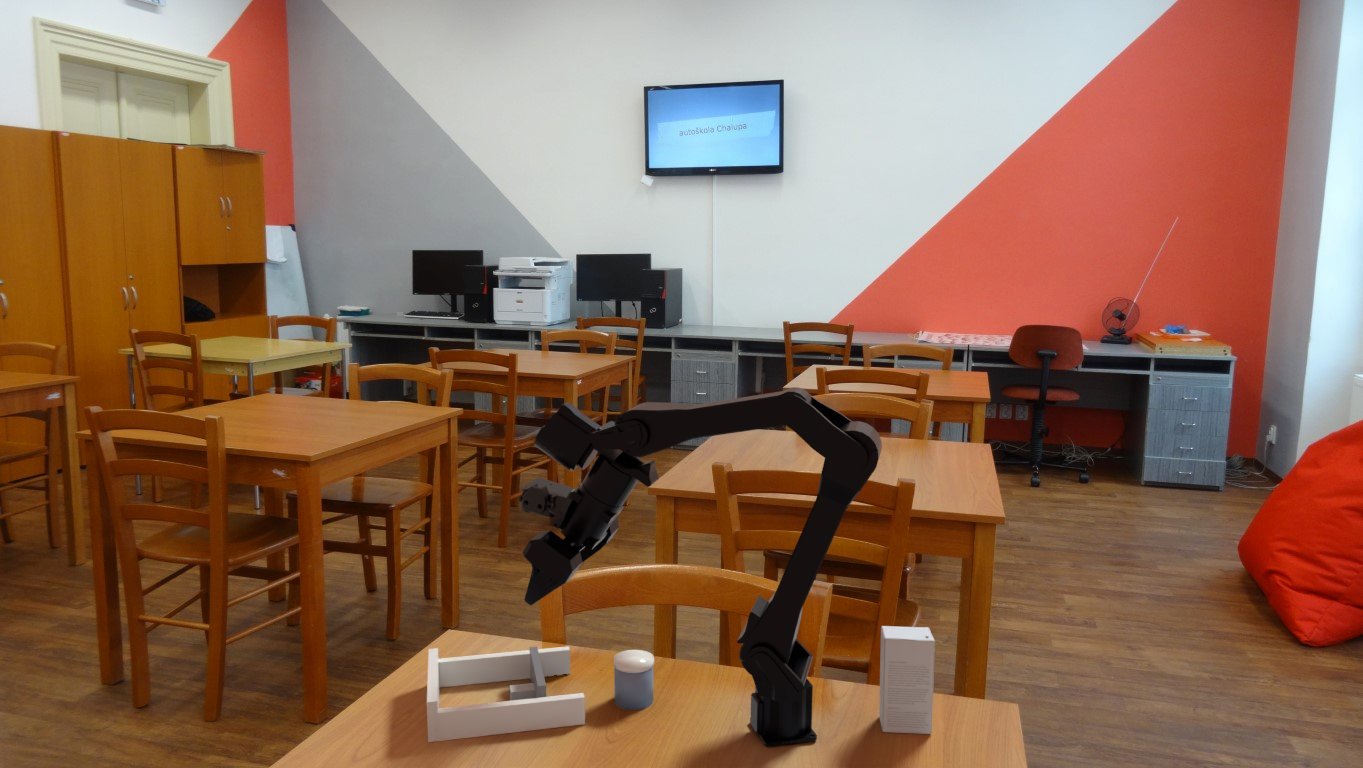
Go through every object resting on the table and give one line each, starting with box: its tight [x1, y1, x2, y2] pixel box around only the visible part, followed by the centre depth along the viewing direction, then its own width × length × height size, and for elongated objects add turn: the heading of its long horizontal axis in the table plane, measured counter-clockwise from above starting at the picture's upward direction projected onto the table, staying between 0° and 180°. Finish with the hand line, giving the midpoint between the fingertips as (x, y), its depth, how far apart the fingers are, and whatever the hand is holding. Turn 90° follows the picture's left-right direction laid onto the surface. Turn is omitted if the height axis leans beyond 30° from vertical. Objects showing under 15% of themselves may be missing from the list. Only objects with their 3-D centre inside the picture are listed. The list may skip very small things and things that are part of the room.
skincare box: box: [878, 625, 936, 735], centre depth 116 cm, size 6×4×12 cm
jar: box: [613, 649, 655, 711], centre depth 123 cm, size 5×5×6 cm
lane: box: [426, 645, 586, 743], centre depth 122 cm, size 19×15×5 cm
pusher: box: [509, 645, 547, 701], centre depth 122 cm, size 4×12×4 cm, turn 14°
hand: (542, 589), depth 121 cm, fingers open, 9 cm apart
